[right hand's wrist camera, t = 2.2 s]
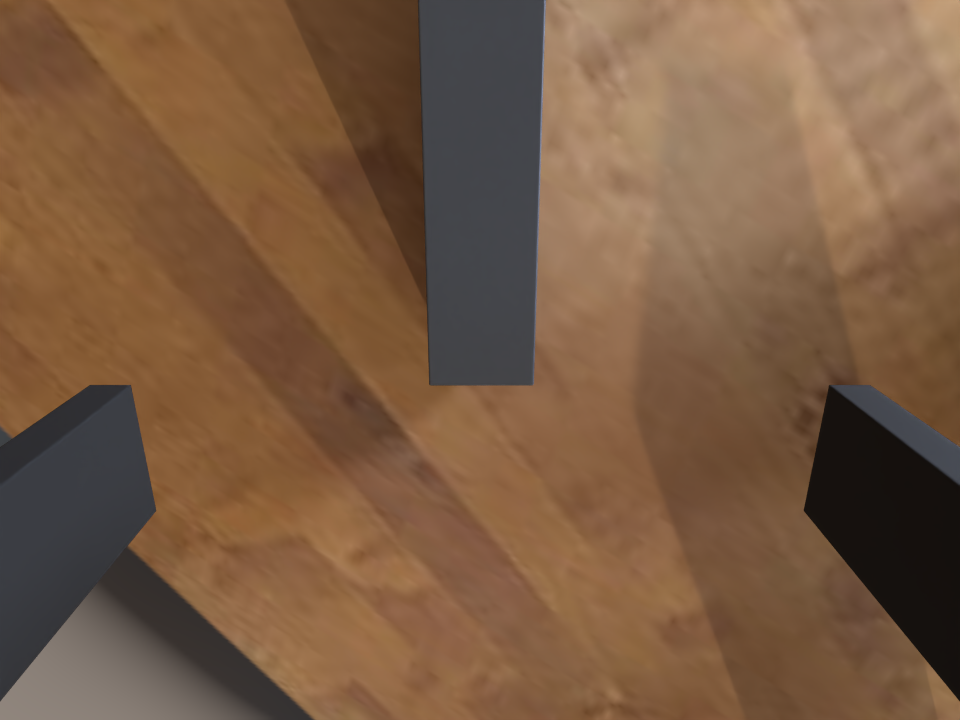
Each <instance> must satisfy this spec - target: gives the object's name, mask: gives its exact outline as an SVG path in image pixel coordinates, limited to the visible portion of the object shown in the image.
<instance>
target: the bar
mask: <svg viewBox="0 0 960 720" xmlns="http://www.w3.org/2000/svg"><path fill="white" fill-rule="evenodd" d="M545 5H546V0H418V17H419V51H420V85H421V119H422V153H423V187H424V221H425V255H426V289H427V323H428V357H429V384H430V385H533V384H534V357H535V325H536V293H537V261H538V229H539V197H540V165H541V133H542V101H543V69H544V37H545Z"/></svg>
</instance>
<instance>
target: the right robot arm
mask: <svg viewBox="0 0 960 720" xmlns="http://www.w3.org/2000/svg"><path fill="white" fill-rule="evenodd" d="M155 512H156V507H155V502H154V497H153V492H152V487H151V482H150V477H149V472H148V468H147V463H146V458H145V453H144V448H143V443H142V438H141V433H140V428H139V423H138V418H137V413H136V408H135V404H134V399H133V394H132V389H131V385H89V386H88V387H87V388H85V389H84V390H82V391H81V392H79V393H78V394H76V395H75V396H74V397H72V398H71V399H69V400H68V401H66V402H65V403H63V404H62V405H61V406H59V407H58V408H56V409H55V410H53V411H52V412H50V413H49V414H48V415H46V416H45V417H43V418H42V419H40V420H39V421H37V422H36V423H35V424H33V425H32V426H30V427H29V428H27V429H26V430H24V431H23V432H22V433H20V434H19V435H17V436H16V437H14V438H13V439H11V440H10V441H9V442H7V443H6V444H4V445H3V446H1V447H0V701H1V700H2V698H3V697H4V696H5V695H6V694H7V692H8V691H9V690H10V689H11V687H12V686H13V685H14V684H15V683H16V681H17V680H18V679H19V678H20V676H21V675H22V674H23V673H24V672H25V670H26V669H27V668H28V667H29V665H30V664H31V663H32V662H33V661H34V659H35V658H36V657H37V656H38V654H39V653H40V652H41V651H42V650H43V648H44V647H45V646H46V645H47V643H48V642H49V641H50V640H51V639H52V637H53V636H54V635H55V634H56V633H57V631H58V630H59V629H60V628H61V626H62V625H63V624H64V623H65V621H66V620H67V619H68V618H69V617H70V615H71V614H72V613H73V612H74V610H75V609H76V608H77V607H78V606H79V604H80V603H81V602H82V601H83V600H84V598H85V597H86V596H87V595H88V593H89V592H90V591H91V590H92V589H93V587H94V586H95V585H96V584H97V582H98V581H99V580H100V579H101V578H102V576H103V575H104V574H105V573H106V571H107V570H108V569H109V568H110V567H111V565H112V564H113V563H114V562H115V560H116V559H117V558H118V557H119V556H120V554H121V553H122V552H123V551H124V549H125V548H126V547H127V546H128V545H129V543H130V542H131V541H132V540H133V538H134V537H135V536H136V535H137V534H138V532H139V531H140V530H141V529H142V527H143V526H144V525H145V524H146V523H147V521H148V520H149V519H150V518H151V516H152V515H153V514H154V513H155ZM804 512H805V513H806V514H807V515H808V516H809V518H810V519H811V520H812V521H813V523H814V524H815V525H816V526H817V527H818V529H819V530H820V531H821V532H822V534H823V535H824V536H825V537H826V538H827V540H828V541H829V542H830V543H831V545H832V546H833V547H834V548H835V549H836V551H837V552H838V553H839V554H840V556H841V557H842V558H843V559H844V560H845V562H846V563H847V564H848V565H849V567H850V568H851V569H852V570H853V571H854V573H855V574H856V575H857V576H858V578H859V579H860V580H861V581H862V582H863V584H864V585H865V586H866V587H867V589H868V590H869V591H870V592H871V593H872V595H873V596H874V597H875V598H876V600H877V601H878V602H879V603H880V604H881V606H882V607H883V608H884V609H885V611H886V612H887V613H888V614H889V615H890V617H891V618H892V619H893V620H894V622H895V623H896V624H897V625H898V626H899V628H900V629H901V630H902V631H903V633H904V634H905V635H906V636H907V637H908V639H909V640H910V641H911V642H912V643H913V645H914V646H915V647H916V648H917V650H918V651H919V652H920V653H921V654H922V656H923V657H924V658H925V659H926V661H927V662H928V663H929V664H930V665H931V667H932V668H933V669H934V670H935V672H936V673H937V674H938V675H939V676H940V678H941V679H942V680H943V681H944V683H945V684H946V685H947V686H948V687H949V689H950V690H951V691H952V692H953V694H954V695H955V696H956V697H957V698H958V700H959V701H960V447H959V446H957V445H956V444H954V443H953V442H951V441H950V440H949V439H947V438H946V437H944V436H943V435H941V434H940V433H938V432H937V431H936V430H934V429H933V428H931V427H930V426H928V425H927V424H925V423H924V422H923V421H921V420H920V419H918V418H917V417H915V416H914V415H912V414H911V413H910V412H908V411H907V410H905V409H904V408H902V407H901V406H899V405H898V404H897V403H895V402H894V401H892V400H891V399H889V398H888V397H886V396H885V395H884V394H882V393H881V392H879V391H878V390H876V389H875V388H873V387H872V386H871V385H829V389H828V394H827V399H826V404H825V408H824V413H823V418H822V423H821V428H820V433H819V438H818V443H817V448H816V453H815V458H814V463H813V468H812V472H811V477H810V482H809V487H808V492H807V497H806V502H805V507H804Z"/></svg>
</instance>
